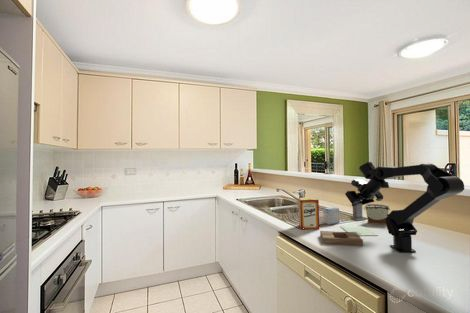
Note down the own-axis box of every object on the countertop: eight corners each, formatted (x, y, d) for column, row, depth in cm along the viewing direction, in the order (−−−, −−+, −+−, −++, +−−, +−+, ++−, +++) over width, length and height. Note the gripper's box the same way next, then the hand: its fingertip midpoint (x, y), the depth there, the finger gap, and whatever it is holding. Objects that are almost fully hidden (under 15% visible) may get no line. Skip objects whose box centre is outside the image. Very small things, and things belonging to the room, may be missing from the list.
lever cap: (357, 221, 115) (356, 198, 115) (350, 219, 119) (350, 197, 119) (364, 220, 116) (364, 197, 116) (358, 218, 120) (357, 196, 120)
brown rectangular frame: (362, 246, 99) (362, 240, 99) (323, 243, 102) (323, 238, 102) (356, 237, 109) (356, 232, 109) (320, 236, 112) (320, 230, 112)
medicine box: (333, 221, 137) (333, 206, 137) (339, 223, 132) (339, 208, 132) (323, 222, 134) (322, 207, 134) (328, 224, 130) (328, 209, 130)
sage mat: (377, 235, 110) (377, 235, 110) (352, 236, 111) (352, 235, 111) (363, 226, 124) (363, 226, 124) (340, 227, 125) (340, 226, 125)
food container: (386, 221, 133) (385, 204, 133) (390, 224, 127) (389, 206, 127) (362, 220, 136) (362, 203, 136) (365, 223, 130) (364, 205, 130)
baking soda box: (301, 229, 123) (300, 199, 123) (298, 225, 130) (298, 197, 130) (319, 229, 122) (318, 199, 122) (316, 225, 129) (315, 197, 129)
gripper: (377, 172, 117) (360, 191, 127) (347, 174, 111) (332, 194, 122) (392, 190, 109) (373, 208, 120) (361, 193, 104) (343, 212, 114)
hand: (355, 205), depth 119 cm, fingers closed on lever cap, 3 cm apart
